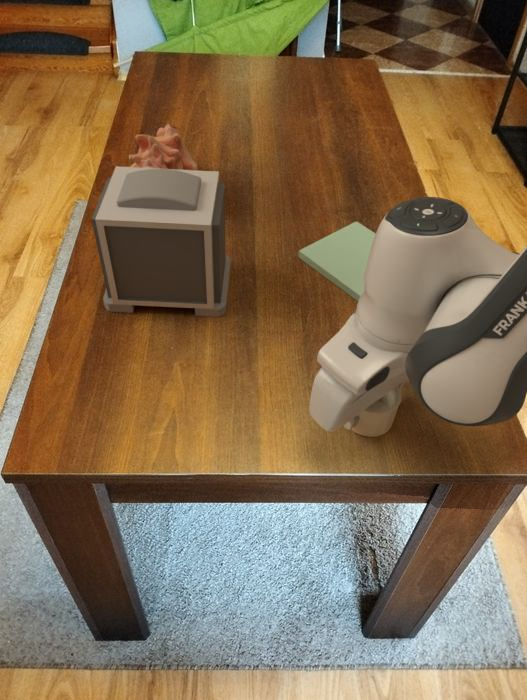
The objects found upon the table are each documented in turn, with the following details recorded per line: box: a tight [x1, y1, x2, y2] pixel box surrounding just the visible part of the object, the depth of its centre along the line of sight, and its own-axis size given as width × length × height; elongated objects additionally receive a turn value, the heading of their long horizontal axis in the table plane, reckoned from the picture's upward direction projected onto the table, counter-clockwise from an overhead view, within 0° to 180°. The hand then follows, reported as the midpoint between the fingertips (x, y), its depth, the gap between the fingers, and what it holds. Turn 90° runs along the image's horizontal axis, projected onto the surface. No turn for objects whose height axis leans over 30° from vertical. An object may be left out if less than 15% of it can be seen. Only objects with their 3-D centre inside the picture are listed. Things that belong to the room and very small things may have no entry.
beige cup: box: [351, 386, 403, 438], centre depth 73 cm, size 7×7×5 cm
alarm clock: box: [91, 165, 232, 318], centre depth 84 cm, size 18×13×18 cm
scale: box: [297, 221, 376, 302], centre depth 94 cm, size 16×14×3 cm
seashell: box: [128, 123, 199, 171], centre depth 103 cm, size 22×13×15 cm
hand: (369, 408), depth 73 cm, fingers closed on beige cup, 6 cm apart
